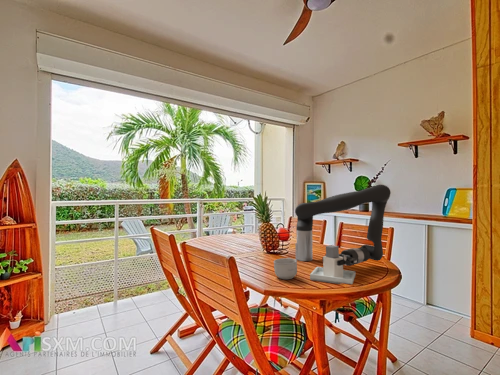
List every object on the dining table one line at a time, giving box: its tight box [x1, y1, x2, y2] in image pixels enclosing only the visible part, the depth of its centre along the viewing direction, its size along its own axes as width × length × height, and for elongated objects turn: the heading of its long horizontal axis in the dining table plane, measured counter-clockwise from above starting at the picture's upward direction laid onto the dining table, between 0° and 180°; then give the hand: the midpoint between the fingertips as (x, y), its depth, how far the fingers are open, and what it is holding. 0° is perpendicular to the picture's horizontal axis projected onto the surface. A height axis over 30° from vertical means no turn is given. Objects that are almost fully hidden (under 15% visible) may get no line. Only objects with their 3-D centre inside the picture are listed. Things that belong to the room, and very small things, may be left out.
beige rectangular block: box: [322, 255, 344, 278], centre depth 125 cm, size 6×6×9 cm
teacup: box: [273, 257, 298, 280], centre depth 128 cm, size 14×11×8 cm
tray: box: [309, 266, 356, 286], centre depth 125 cm, size 18×14×2 cm
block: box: [325, 244, 340, 259], centre depth 125 cm, size 4×4×13 cm
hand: (330, 261), depth 124 cm, fingers open, 8 cm apart
